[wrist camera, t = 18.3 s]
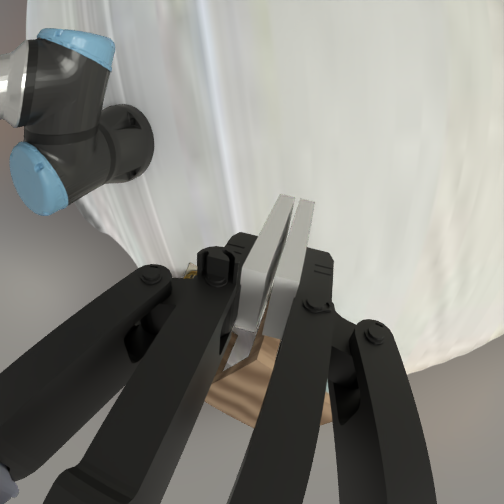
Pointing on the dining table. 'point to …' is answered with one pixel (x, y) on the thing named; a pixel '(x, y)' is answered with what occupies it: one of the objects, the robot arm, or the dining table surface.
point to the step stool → (249, 380)
